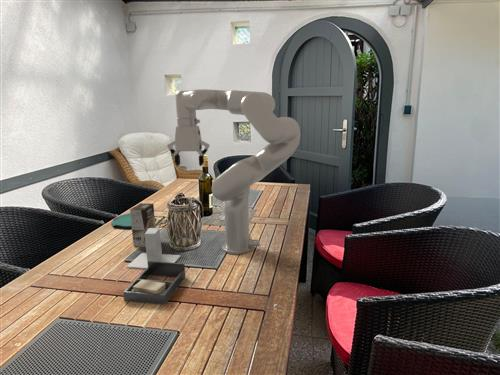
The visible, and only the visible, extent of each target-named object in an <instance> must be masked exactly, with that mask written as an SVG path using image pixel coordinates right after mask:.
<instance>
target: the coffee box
mask: <svg viewBox="0 0 500 375" xmlns="http://www.w3.org/2000/svg"><path fill="white" fill-rule="evenodd" d="M129 211H130V212H129V213H131V225H132V227H131V233H132V234H131V235H132V244H133V247H141V248H142V247H143V248H146V244H145V233H146V231H147V230H148V228H156V226H155V224H156V220H155V219H156V218H155V217H156V216H155V206H154V203H139V204H137V205H134V206H133V207H132V208H130V209H129ZM154 216H155V217H154Z"/></svg>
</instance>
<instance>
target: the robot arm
mask: <svg viewBox="0 0 500 375" xmlns="http://www.w3.org/2000/svg"><path fill="white" fill-rule="evenodd" d="M275 107H276V100H275V99H274V96H272V95H271V94H270V93H268V92H265V91H263V92H262V91H251V90H250V91H248V90H236V89H235V90H234V89H233V90H222V89H221V90H220V89H207V88H206V89H193V90H178V91H176V93H175V108H176V109H175V110H176V120H177V121H176V122H177V126H176V127H175V132H174V134H175V135H174V141H172V142H170V143H169V144H167V148H168V150H169V152H170V153H171V154H172V155H173V157H174V163H175V165H176V167H177V166H180V165H181V156H180V153H181V152H196V153H197V154H198V165H199V166H200V167H201V166H203V165H204V163H205V157H204V155H206V153H207V152H208V150H209V148H210V143H208V142H206V141H203V140H202V135H201V128H200V126H199V125H198V124H201V119H199V118H197V111H202V110H220V111H221V110H222V111H229V113H230V114H232V115H236V116H237V115H241V116H244V117H245V119H247V121H248V122H249V123H250V124H251V126H252V127H253V128H254V129H255V131H256V132H257V133H258V134H259V135H260V137H261V138H262V139H263V140H264V141H266V142H267V143H268V144H267V145H266V146H264V147H263V148H261V149H260V151H258V152H257V153H255V154H253V155H251V156H249V157H246V158H244V159H241V160H238V161H237V162H235V163H233V164H232V165H231V166H230V167H228V168H227V169H226V170H225V171H224V172H222V173H221V174H219V175H218V176H216V178H215V179H214V180H213V182H212V184H211V193H212V196H213V197H214V198H215V199H216V200H218V201H220V202H224V209H223V210H224V212H223V213H224V234H225V235H224V236H225V238H224V239H225V241H224V242H223V243H222V245H221V250H222V251H223V252H225V253H227V254H231V255H241V254H243V255H244V254H247V253H249V252H251V251H253V249H254V247H260V246H261V245H260V244H261V242H260V240H258V239H252V238H251V237H252V236H251V235H250V224H249V218H250V216H249V210H250V209H249V199H250V197H249V196H250V191H251V186H253V185H254V184H256V183H258V182H260V181H261V180H263V179H264V178H265V177H266V176H267V175H269V174H270V173H272V172H273V171H274V170H276V169H277V168H278V167H280V166H281V165H282V164H283V163H285V162H286V161H287V160H288V159H289V158H290V157H291V156H292V155H293V154H295V151H297V148H298V146H299V144H300V141H301V128H300V125H299V123H298V121H296V120H295V119H294V118H293V117H290V116H289V117H288V116H280V117H277V115H276V114H275V113H274V110H275ZM173 146H175V147H174V148H175V149H174V148H173ZM203 146H204V149H203Z"/></svg>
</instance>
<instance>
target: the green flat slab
mask: <svg viewBox="0 0 500 375" xmlns="http://www.w3.org/2000/svg"><path fill="white" fill-rule="evenodd" d="M154 217H156V216H155V215H154ZM163 218H165V216H162V217H161V218H160V219H158V220H157V222H155V227H156V226H157V225H158V228H162V227H166V225H167V221H168V220H167V218H166V219H165V220H164V221H163V222H161V221H162V220H163ZM166 220H167V221H166ZM110 225H111V226H112V227H114V226H116V227H119V228H132V225H131V213H130V212H129V213H125V214H121V215H119V216H117V217H115V218H114V219H113V220H112V221H111V223H110ZM159 225H160V226H159ZM161 225H163V226H161Z"/></svg>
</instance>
